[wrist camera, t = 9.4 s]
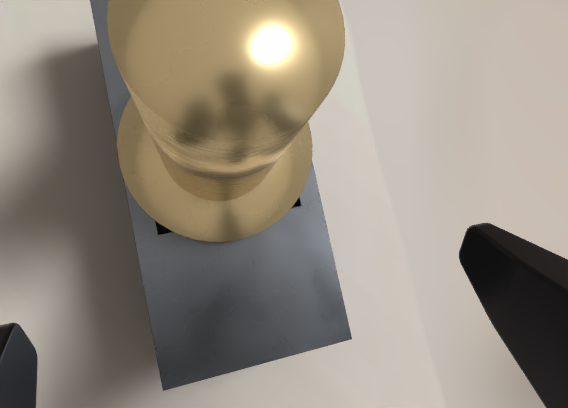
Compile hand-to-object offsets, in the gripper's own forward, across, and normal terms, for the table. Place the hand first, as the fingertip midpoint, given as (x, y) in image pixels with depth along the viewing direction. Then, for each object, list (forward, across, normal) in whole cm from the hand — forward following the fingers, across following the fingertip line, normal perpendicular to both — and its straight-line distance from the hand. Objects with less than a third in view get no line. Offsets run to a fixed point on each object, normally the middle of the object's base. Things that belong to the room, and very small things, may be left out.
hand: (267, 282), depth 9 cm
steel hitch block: (+11, 0, +5) cm, 12 cm away
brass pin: (+11, 0, +5) cm, 12 cm away
